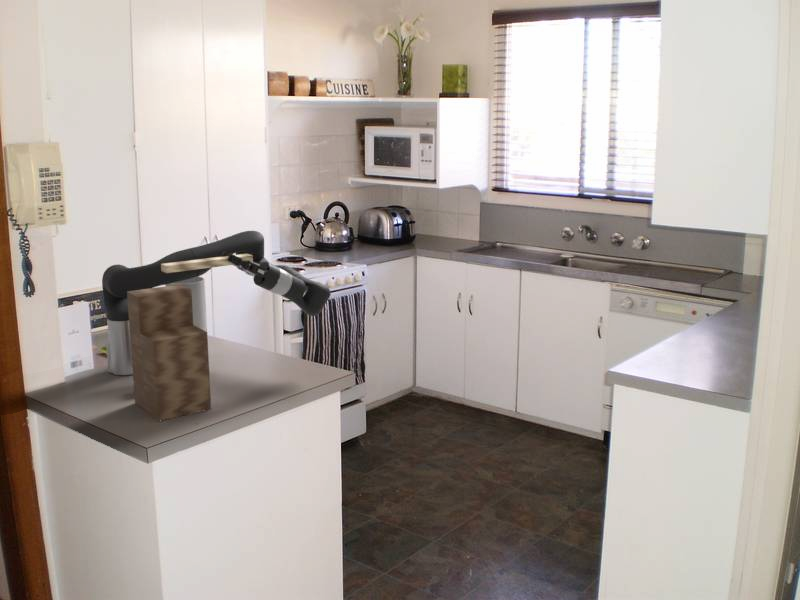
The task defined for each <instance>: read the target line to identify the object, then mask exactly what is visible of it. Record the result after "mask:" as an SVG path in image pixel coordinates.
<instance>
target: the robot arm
mask: <svg viewBox="0 0 800 600" xmlns="http://www.w3.org/2000/svg"><path fill="white" fill-rule="evenodd" d="M240 254H250V255H253V262H252V261H250V260H248V261H246V260H245V259H242V260H241V258H239V257H237V256H235V255H240ZM223 256H228V259H227V260H228V261H229V262H231V263H233V264H235V265H233V266H234V267H236V268H237V269H238V270H240V271H241V272H243V273H245V274H246V275H249V276H251V277H253V282H254V284H255V285H256V286H258V287H260V288H262V289H264V290H266V291H268V292H270V293H272V294H275V295H279V296H281V297H283V298H285V299H288V300H290V301H292V302H293V303H294V304H295V305H296V306H297V307H298V308H300V310H301V311H302V312H304V313H305V314H306V315H307V316H311V317H316V316H318V315H320V314H321V312H322V310H323V309H324V307H325V305H326V304H327V302H328V301H329V299H330V297H331V295H332V294H331V289H330V288H329V286H327V285H326V284H324V283H321V282H319V281H314V280H313V279H312V280H311V279H308V278H307V277H305V276H304V275H302V274H301V273H299V272H298V271H297V270H295V269H294V268H293V267H290V266H288V265H282V264H281V265H279V264H278V265H277V264H273V263H272V262H269V261H268V260H267V258H265V238H264V235H263V234H262V233H261V232H260V231H257V230H246V231H241V232H239V233H235V234H231V235H230V236H226V237H224V238H221V239H220V240H219V239H218V240H216V241H213V242H210V243H206V244H203V245H198V246H195V247H190V248H185V249H182V250H178V251H174V252H172V253H170V254H168V255H165V256H164V257H162V258H160V259H158V260H156V261H155V262H152V263H150V264H145V265H141V266H136V267H127V266H125V265H122V264H113V265H110V266H109V267H107V268H106V269H105V271H104V272H103V274H102V278H101V284H102V285H101V287H102V297H103V306H104V309H105V313H106V321H107V322H106V323H107V333H108V334H107V335H108V341H107V342H106V343H105V345H106V349H107V355H106V357H107V358H106V359H107V360H106V361H107V371H108V373H109V374H110V373H111V374H112V373H113V374H112V375H115V376H129V375H131V376H132V375H133V367H132V354H131V340H130V326H129V312H128V298H127V291H134V290H142V289H149V288H157V287H162V286H165V285H166V284H170V283H175V282H178V281H183V280H187V279H191V278H194V277H198V276H199V277H202V276H203V275H204V274H207V272H209V271H210V270H212V268H204V269H196V270H188V271H180V272H172V273H165V272H162V271H161V264H164V263H173V262H181V261H189V260H198V259H206V258H215V257H223Z"/></svg>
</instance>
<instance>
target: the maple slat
mask: <svg viewBox="0 0 800 600" xmlns="http://www.w3.org/2000/svg"><path fill="white" fill-rule="evenodd" d="M234 255H235V256H237V257H239V258H241V260H242V259H245V260H246V261H248V260H250V261H252V262H253V255H250V254H240V255H236V254H234ZM227 259H228V256H223V257H215V258H206V259H198V260H189V261H181V262H173V263H164V264H161V271H162V272H165V273H172V272H180V271H188V270H196V269H204V268H211V269H212V268H218V267H228V266H234V265H235V264H233V263H231V262H229V261H228V260H227Z"/></svg>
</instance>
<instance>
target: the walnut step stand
mask: <svg viewBox="0 0 800 600" xmlns="http://www.w3.org/2000/svg"><path fill="white" fill-rule="evenodd" d="M127 298H128V312H129V326H130V340H131V354H132V367H133V374H132V379H133V392H134V404H135V405H137V406H138V407H139V408H140V409H142V410H143V411H144V412H146V414H148V415H149V414H150V415H149V416H151V417H152V418H153V419H154V418H155V420H156V421H157V422H161V421H160V420H163V421H165V419H167V420H170V419H169V418H171V419H175V418H174V417H176V418H178V417H177V416H180V417H183V416H182V415H184V416H188V415H187V414H189V415H191V414H190V413H193V414H196V413H195V412H198V411H202V412H204V411H203V410H206V411H210V410H209V409H211V410H212V401H211V400H212V399H211V380H210V378H211V377H210V361H209V342H208V331H207V332H206V331H204V330H202V329H200V328H198V327H196V326H194V325H193V309H192V291H191V289H189V288H187V287H184V286H182V285H180V284H179V285H172V286H165V285H163V286H157V287H154V288H149V289H142V290H134V291H127ZM198 413H199V412H198Z"/></svg>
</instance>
